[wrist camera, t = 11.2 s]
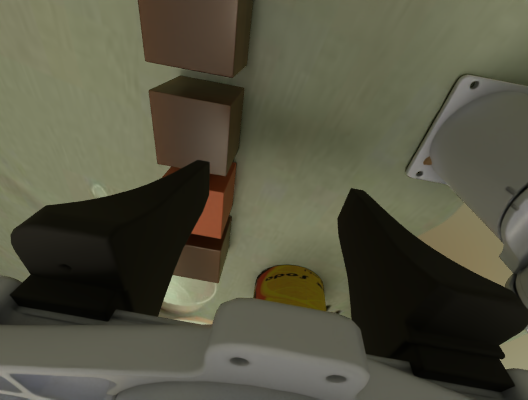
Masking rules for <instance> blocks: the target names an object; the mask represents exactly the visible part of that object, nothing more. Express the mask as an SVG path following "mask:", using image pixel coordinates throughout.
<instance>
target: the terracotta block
mask: <svg viewBox="0 0 528 400" xmlns="http://www.w3.org/2000/svg"><path fill="white" fill-rule="evenodd" d="M179 169H181V168H178V167H172V166H171V168H170V169H169V170H168V171H167V172H166V173H165V175H164V176H163V177H165V176H167V175H169V174H172V173H173V172H175V171H177V170H179ZM235 174H236V163H235V162H232V164H231V166H230V169H229V171H228V173H227V175H226V176H221V175H215V174H210V181H209V197H208V200H207V203H206V205H205V208H204V210H203V212H202V214H201V216H200V218H199V220H198V222H197V224H196V225H195V227H194V229H193V231H192V233H191V234H197V235H202V236H208V237H213V238H219V239H221V237H222V234H223V231H224V228H225V225H226V223H227V220H228V217H229V214H230V211H231V208H232V205H233V195H234V184H235ZM163 177H162V178H163Z"/></svg>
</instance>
